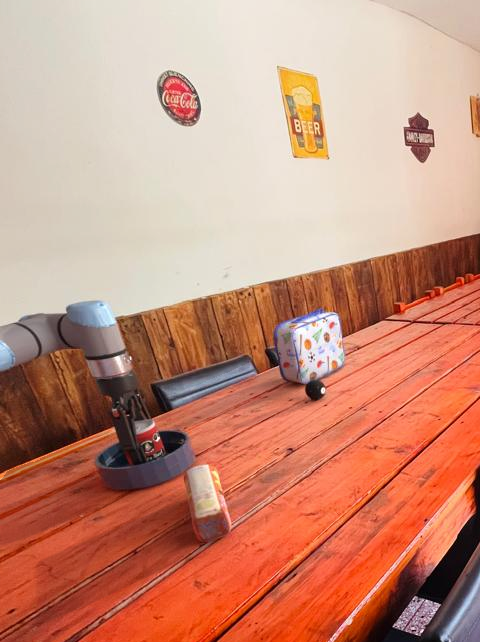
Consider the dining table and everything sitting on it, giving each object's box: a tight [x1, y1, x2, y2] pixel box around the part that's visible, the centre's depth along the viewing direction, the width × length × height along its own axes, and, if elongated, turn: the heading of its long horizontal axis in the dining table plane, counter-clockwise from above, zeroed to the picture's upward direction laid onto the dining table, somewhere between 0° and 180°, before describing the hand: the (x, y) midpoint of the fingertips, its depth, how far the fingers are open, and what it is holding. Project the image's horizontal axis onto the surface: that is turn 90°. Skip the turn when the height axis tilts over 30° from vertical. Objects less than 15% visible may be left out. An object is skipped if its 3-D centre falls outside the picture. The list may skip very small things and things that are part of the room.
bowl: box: [94, 429, 197, 491], centre depth 121 cm, size 19×19×6 cm
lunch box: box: [272, 308, 346, 385], centre depth 174 cm, size 28×10×22 cm, turn 159°
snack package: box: [183, 464, 232, 543], centre depth 102 cm, size 21×7×7 cm, turn 31°
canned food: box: [125, 419, 166, 466], centre depth 119 cm, size 8×8×11 cm
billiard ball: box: [304, 379, 327, 400], centre depth 157 cm, size 6×6×6 cm
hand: (149, 464), depth 121 cm, fingers closed on canned food, 8 cm apart
